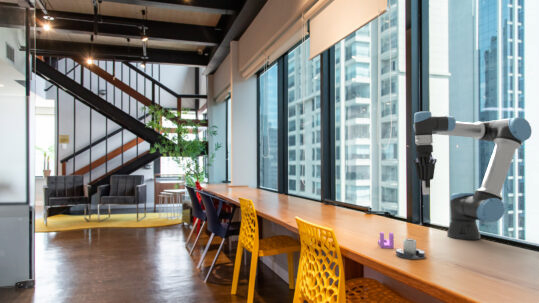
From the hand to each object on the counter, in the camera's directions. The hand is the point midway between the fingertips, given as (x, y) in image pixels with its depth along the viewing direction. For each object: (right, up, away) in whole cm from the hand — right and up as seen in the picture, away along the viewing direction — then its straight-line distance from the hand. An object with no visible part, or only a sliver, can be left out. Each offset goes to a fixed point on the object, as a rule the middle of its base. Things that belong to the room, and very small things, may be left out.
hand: (426, 194), depth 165 cm
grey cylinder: (-15, -23, -17) cm, 33 cm away
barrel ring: (-15, -24, -17) cm, 33 cm away
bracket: (-19, -25, +2) cm, 31 cm away
